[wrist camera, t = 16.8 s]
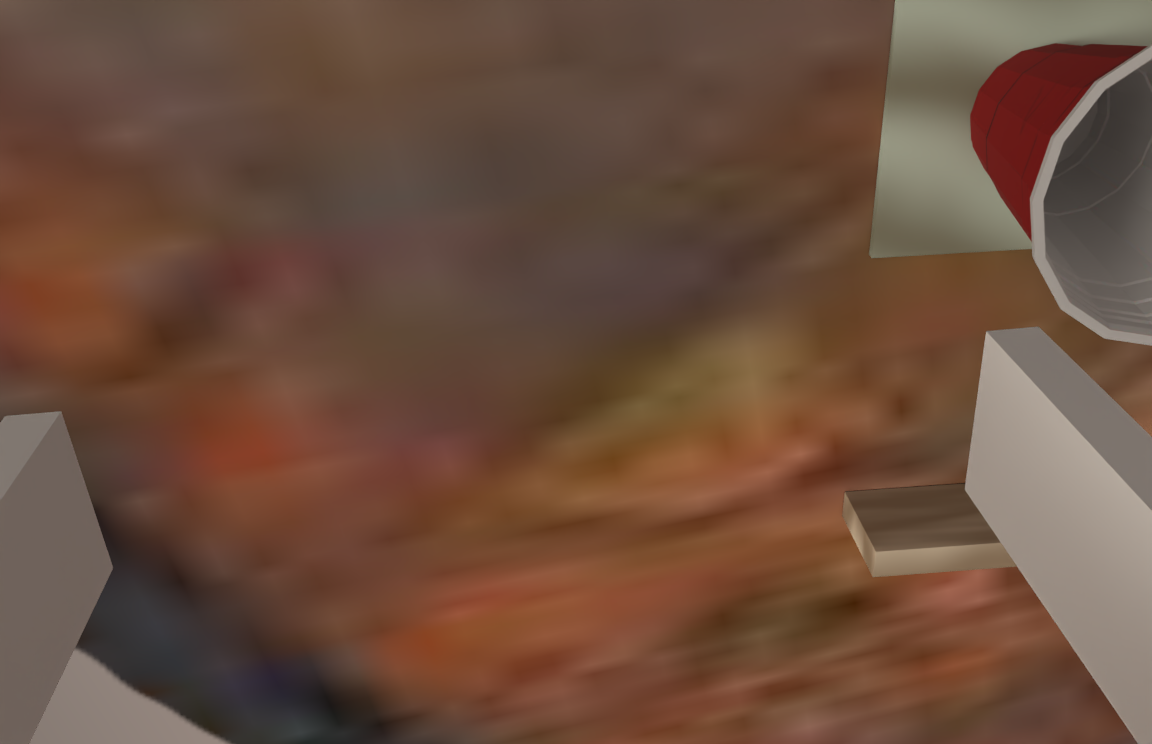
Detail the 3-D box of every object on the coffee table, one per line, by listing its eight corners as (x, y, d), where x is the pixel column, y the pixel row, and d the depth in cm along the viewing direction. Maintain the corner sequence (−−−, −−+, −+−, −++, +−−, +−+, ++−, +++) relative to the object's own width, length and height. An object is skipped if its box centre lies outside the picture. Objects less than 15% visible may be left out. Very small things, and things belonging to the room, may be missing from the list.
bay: (907, -118, 42) (956, -108, 38) (1231, -132, 43) (1317, -123, 38) (842, 515, 56) (872, 577, 52) (1086, 498, 57) (1137, 557, 52)
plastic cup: (1189, -31, 44) (1412, 25, 33) (1129, 222, 49) (1306, 339, 39) (928, -23, 43) (1071, 35, 33) (894, 232, 48) (1009, 353, 38)
